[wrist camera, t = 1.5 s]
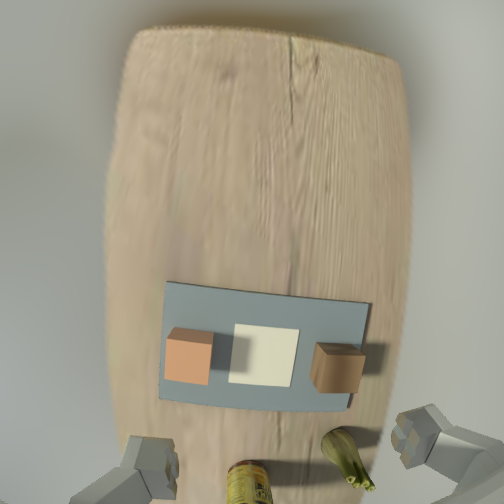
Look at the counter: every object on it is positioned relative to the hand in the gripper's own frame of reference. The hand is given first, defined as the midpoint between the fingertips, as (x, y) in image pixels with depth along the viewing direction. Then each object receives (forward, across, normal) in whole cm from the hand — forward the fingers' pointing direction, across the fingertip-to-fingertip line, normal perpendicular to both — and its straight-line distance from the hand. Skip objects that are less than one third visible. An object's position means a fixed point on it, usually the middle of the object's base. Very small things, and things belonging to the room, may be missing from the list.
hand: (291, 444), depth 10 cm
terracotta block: (+28, -7, -11) cm, 31 cm away
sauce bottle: (+24, -1, -33) cm, 41 cm away
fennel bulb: (+25, +12, -28) cm, 40 cm away
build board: (+28, +2, -13) cm, 31 cm away
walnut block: (+27, +11, -14) cm, 32 cm away
